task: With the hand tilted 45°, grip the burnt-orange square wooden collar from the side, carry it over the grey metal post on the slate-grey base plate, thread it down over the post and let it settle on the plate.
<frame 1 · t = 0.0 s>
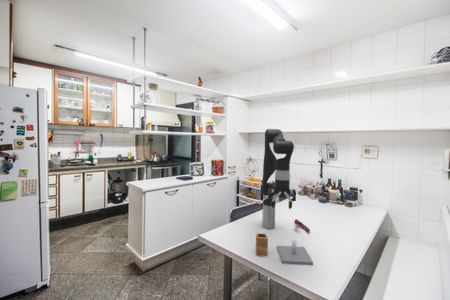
hand: (281, 208, 114), 29 cm above the table, tool pointing down, fingers open, 8 cm apart
post base: (293, 255, 121), on the table
collar: (261, 252, 124), on the table
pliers: (300, 226, 158), point 1 cm above the table
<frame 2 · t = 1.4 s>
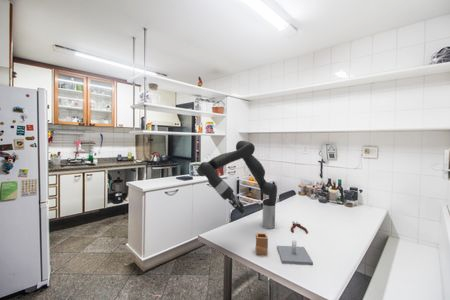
hand: (243, 209, 123), 25 cm above the table, tool tilted 45°, fingers open, 8 cm apart
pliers: (299, 229, 158), on the table
everything else where it was.
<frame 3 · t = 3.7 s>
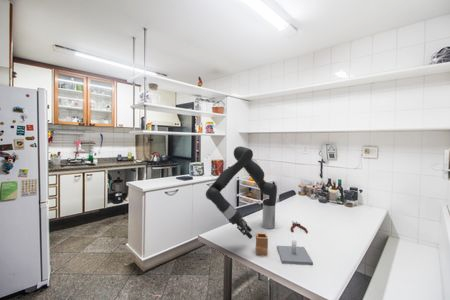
hand: (250, 234, 124), 10 cm above the table, tool tilted 45°, fingers open, 8 cm apart
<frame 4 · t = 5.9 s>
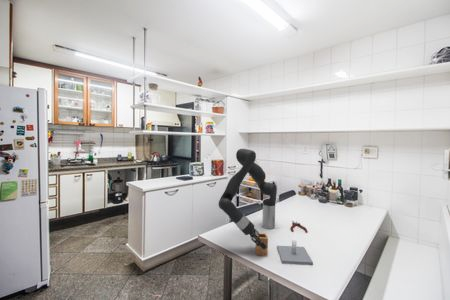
hand: (264, 245, 124), 4 cm above the table, tool tilted 45°, fingers closed on collar, 6 cm apart
collar: (261, 252, 124), on the table, touching gripper
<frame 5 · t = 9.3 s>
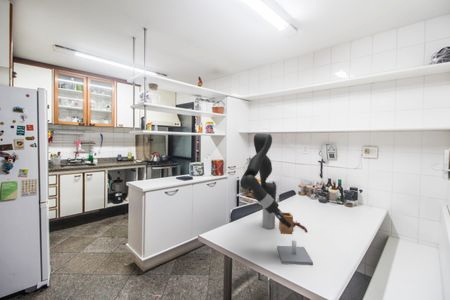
hand: (288, 224, 120), 18 cm above the table, tool tilted 45°, fingers closed on collar, 6 cm apart
collar: (285, 231, 121), point 14 cm above the table, touching gripper
when the fingers open (7 cm above the table, at t = 13.0 s): collar drops 1 cm, resting on post base.
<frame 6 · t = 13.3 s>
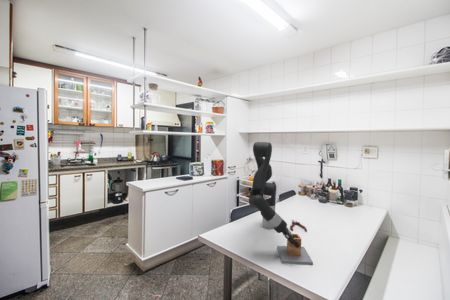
hand: (296, 242, 120), 8 cm above the table, tool tilted 45°, fingers open, 8 cm apart
collar: (293, 253, 121), point 1 cm above the table, touching post base
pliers: (298, 227, 161), on the table
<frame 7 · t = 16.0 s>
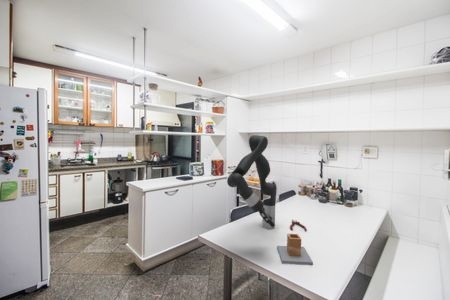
hand: (272, 222, 122), 18 cm above the table, tool tilted 40°, fingers open, 8 cm apart
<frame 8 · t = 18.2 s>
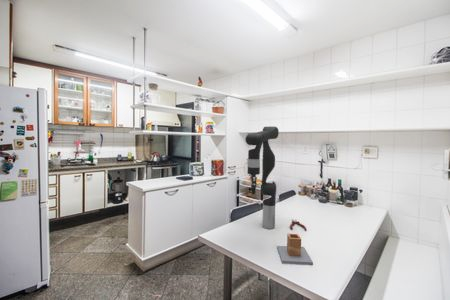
hand: (253, 192, 131), 33 cm above the table, tool pointing down, fingers open, 8 cm apart
at the end: collar 0.1 cm from the post base (horizontally); collar point 1.5 cm above the table; collar tilted 0° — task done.
